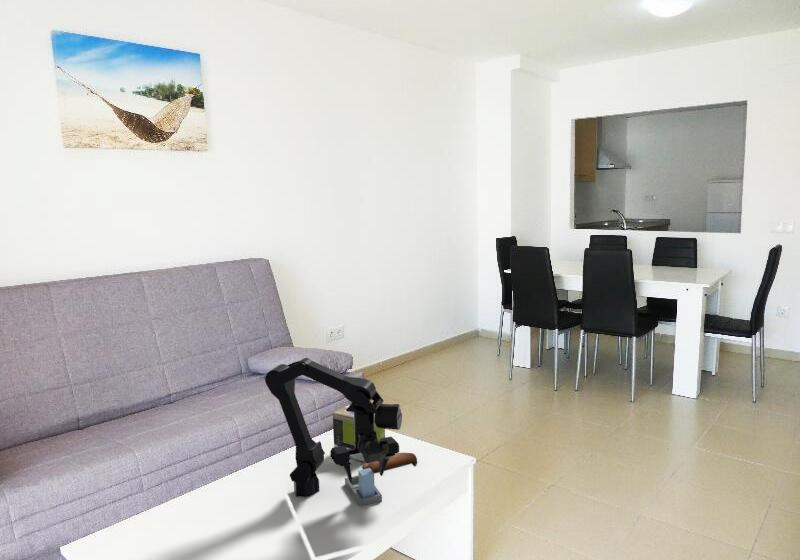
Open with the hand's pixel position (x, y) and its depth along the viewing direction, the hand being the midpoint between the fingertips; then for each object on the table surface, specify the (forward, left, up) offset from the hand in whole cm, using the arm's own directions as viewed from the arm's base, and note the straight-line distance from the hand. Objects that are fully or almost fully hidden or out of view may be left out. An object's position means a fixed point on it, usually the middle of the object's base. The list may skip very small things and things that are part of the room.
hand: (365, 478), depth 163 cm
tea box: (+8, +30, -7) cm, 32 cm away
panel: (0, +3, -7) cm, 8 cm away
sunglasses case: (+13, +18, -8) cm, 23 cm away
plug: (0, 0, -6) cm, 6 cm away
